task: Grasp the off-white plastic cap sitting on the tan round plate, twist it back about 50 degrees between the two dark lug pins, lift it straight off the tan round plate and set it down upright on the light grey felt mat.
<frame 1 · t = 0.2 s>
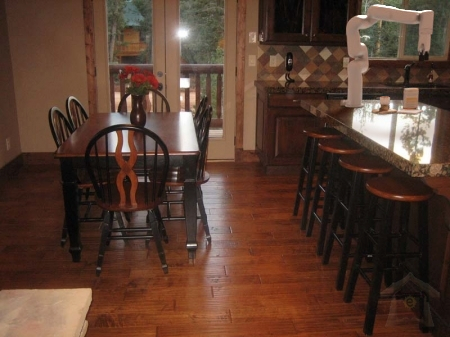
hand: (423, 60, 285), 31 cm above the table, fingers open, 9 cm apart
supplement box: (410, 108, 303), on the table
cap: (384, 104, 292), point 5 cm above the table, touching tan round plate
mat: (409, 112, 288), on the table
tan round plate: (384, 111, 294), on the table
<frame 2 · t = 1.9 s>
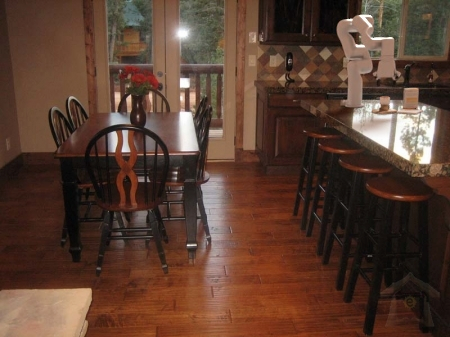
hand: (386, 86, 289), 16 cm above the table, fingers open, 9 cm apart
nothing on the table moved.
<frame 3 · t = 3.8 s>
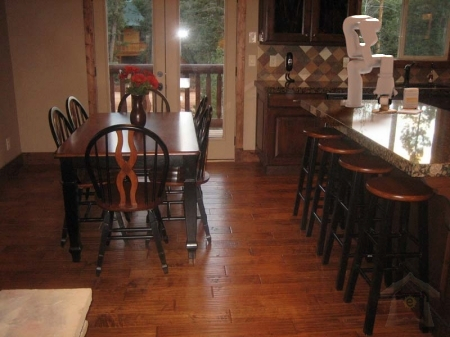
hand: (384, 104, 292), 5 cm above the table, fingers closed on cap, 6 cm apart
cap: (384, 104, 292), point 5 cm above the table, touching gripper, tan round plate
everything else where it was.
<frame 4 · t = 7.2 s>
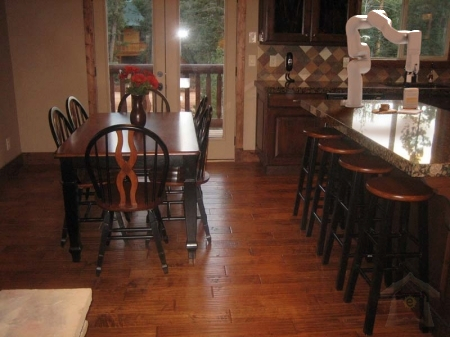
hand: (411, 82, 283), 19 cm above the table, fingers closed on cap, 6 cm apart
cap: (411, 81, 283), point 19 cm above the table, touching gripper
everything else where it was.
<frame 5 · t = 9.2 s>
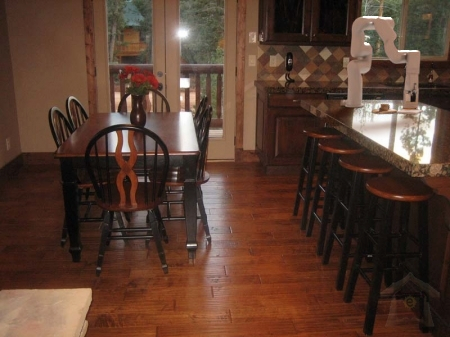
hand: (410, 101, 286), 7 cm above the table, fingers closed on cap, 6 cm apart
cap: (410, 100, 286), point 7 cm above the table, touching gripper
everything else where it was.
when the fingers open (3 cm above the table, at t = 11.0 s): cap drops 2 cm, resting on mat.
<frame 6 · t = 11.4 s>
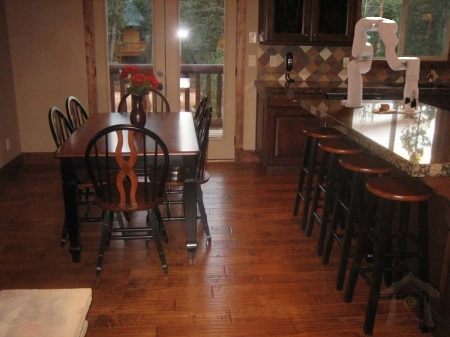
hand: (410, 106, 287), 4 cm above the table, fingers open, 9 cm apart
cap: (409, 110, 288), point 1 cm above the table, touching mat
everything else where it was.
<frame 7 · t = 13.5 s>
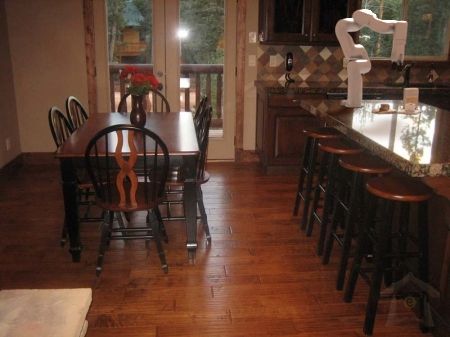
hand: (396, 70, 288), 25 cm above the table, fingers open, 9 cm apart
nothing on the table moved.
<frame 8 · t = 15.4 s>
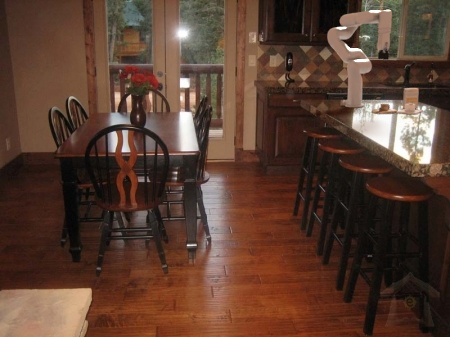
hand: (383, 59, 293), 32 cm above the table, fingers open, 9 cm apart
nothing on the table moved.
at the end: cap inside the target area on the mat (0.1 cm from its centre), point 1.0 cm above the mat's base; cap tilted 0°; the gripper is holding nothing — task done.
